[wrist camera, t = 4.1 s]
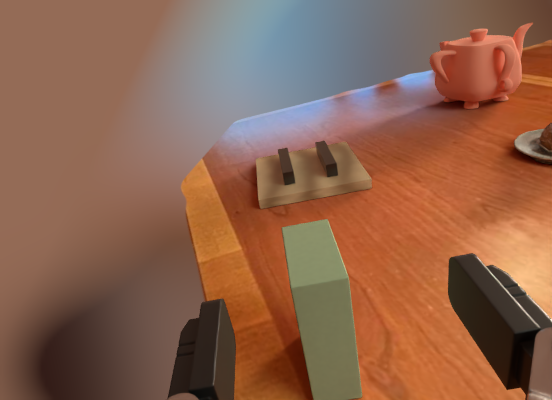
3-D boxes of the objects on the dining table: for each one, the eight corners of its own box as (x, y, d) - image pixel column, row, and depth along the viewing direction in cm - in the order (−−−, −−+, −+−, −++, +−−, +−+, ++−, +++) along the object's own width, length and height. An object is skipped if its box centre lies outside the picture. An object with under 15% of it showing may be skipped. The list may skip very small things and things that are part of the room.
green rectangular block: (314, 406, 29) (290, 287, 24) (302, 332, 35) (281, 227, 30) (362, 397, 28) (348, 277, 23) (341, 325, 35) (327, 218, 30)
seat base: (260, 209, 56) (255, 187, 55) (257, 166, 70) (253, 147, 69) (372, 188, 56) (370, 165, 54) (346, 149, 70) (344, 130, 68)
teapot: (439, 90, 92) (440, 27, 85) (525, 86, 84) (533, 17, 77) (426, 112, 80) (427, 41, 73) (526, 111, 71) (536, 30, 65)
